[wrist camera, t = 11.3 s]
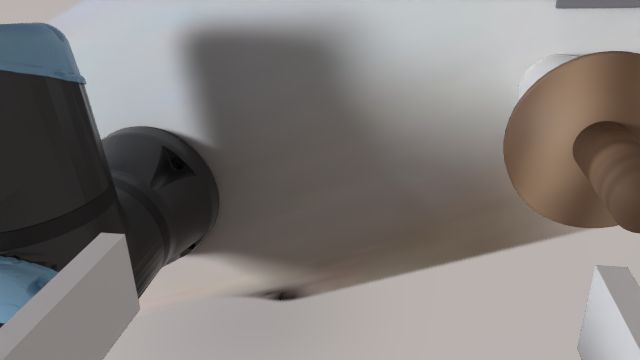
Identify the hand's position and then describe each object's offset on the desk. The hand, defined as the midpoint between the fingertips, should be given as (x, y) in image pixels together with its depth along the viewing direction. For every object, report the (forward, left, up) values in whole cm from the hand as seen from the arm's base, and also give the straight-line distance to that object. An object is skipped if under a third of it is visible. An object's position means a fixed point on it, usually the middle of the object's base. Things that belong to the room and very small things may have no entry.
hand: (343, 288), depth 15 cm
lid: (+14, -4, -24) cm, 28 cm away
